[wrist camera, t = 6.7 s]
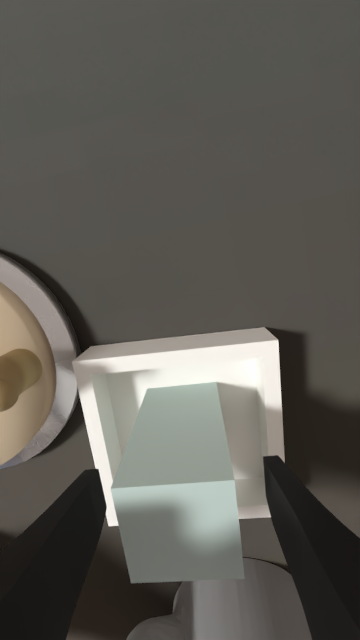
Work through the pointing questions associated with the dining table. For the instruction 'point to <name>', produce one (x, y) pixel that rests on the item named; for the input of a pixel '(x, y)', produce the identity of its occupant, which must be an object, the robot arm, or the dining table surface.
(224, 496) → the block
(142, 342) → the tray
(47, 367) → the crank
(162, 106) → the dining table surface
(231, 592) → the coffee mug
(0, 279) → the crank base
